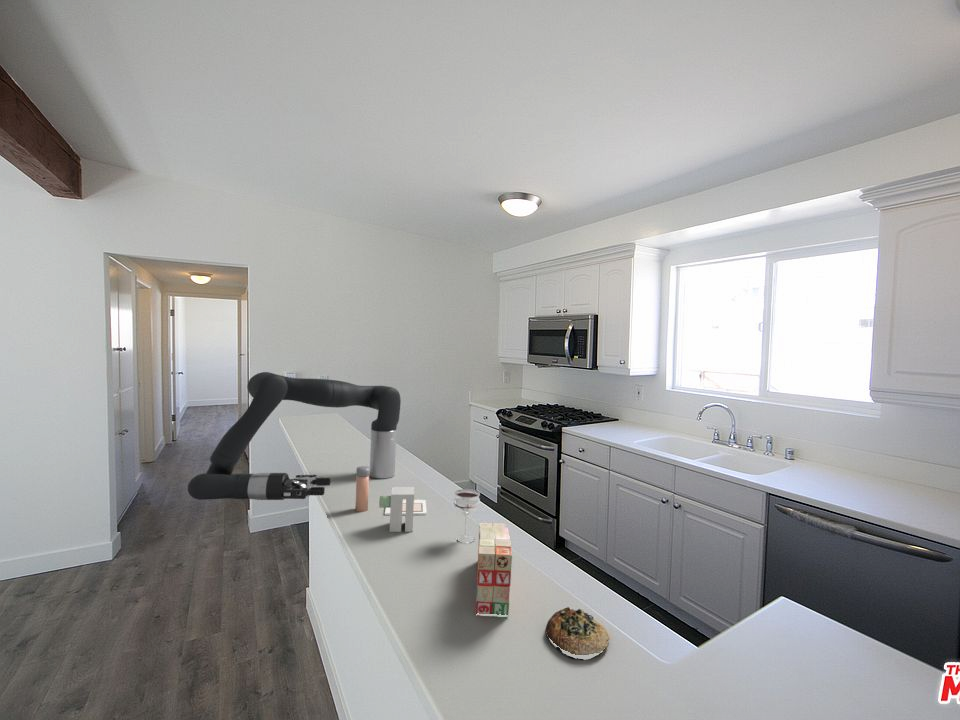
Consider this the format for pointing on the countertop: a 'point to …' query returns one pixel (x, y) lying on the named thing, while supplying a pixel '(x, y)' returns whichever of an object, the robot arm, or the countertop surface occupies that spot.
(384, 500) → the button
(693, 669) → the countertop surface
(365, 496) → the terracotta marker
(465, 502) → the wineglass
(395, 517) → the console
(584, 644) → the bread roll
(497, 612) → the stack of blocks
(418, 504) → the white square board
